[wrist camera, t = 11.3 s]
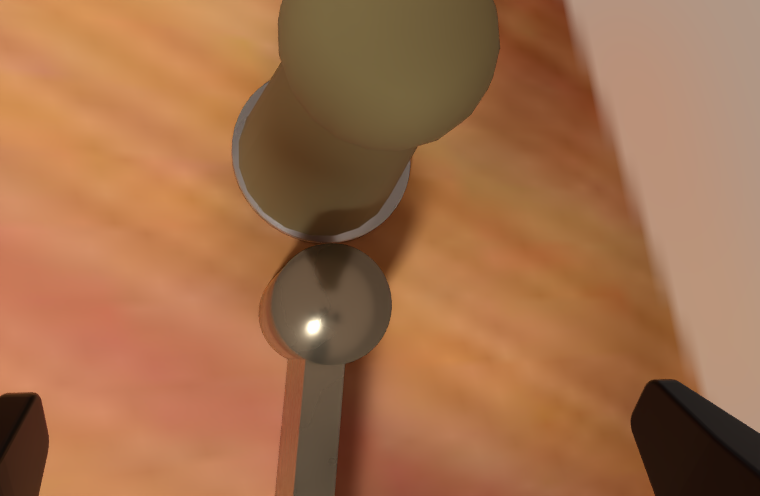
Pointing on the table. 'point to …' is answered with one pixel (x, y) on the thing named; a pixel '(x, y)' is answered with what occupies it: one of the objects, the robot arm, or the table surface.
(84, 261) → the table surface
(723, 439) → the robot arm
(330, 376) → the hinge frame
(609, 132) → the table surface
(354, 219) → the olive rounded piece
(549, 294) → the table surface
